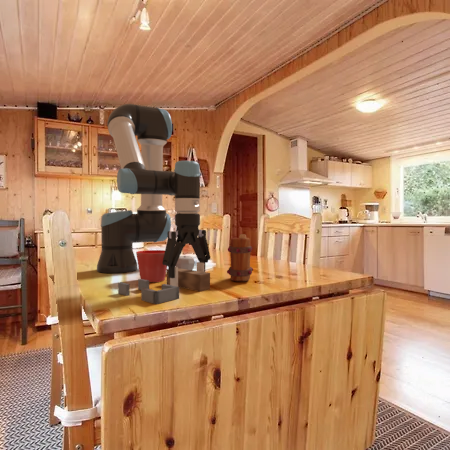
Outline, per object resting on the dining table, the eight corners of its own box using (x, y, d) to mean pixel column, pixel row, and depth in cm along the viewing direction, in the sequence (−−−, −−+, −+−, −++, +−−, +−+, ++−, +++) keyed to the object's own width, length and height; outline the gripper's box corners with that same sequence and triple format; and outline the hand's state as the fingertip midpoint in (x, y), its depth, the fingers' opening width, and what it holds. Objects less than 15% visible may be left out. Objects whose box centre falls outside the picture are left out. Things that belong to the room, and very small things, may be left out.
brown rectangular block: (166, 285, 105) (166, 269, 105) (176, 283, 108) (176, 267, 108) (200, 292, 96) (200, 274, 96) (210, 289, 99) (210, 273, 99)
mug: (250, 283, 106) (250, 236, 105) (225, 282, 107) (225, 236, 107) (255, 275, 120) (255, 233, 120) (233, 274, 122) (233, 233, 121)
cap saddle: (118, 293, 93) (118, 282, 93) (141, 288, 99) (141, 278, 99) (126, 295, 91) (126, 284, 91) (149, 290, 96) (149, 280, 96)
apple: (178, 275, 120) (178, 257, 120) (171, 272, 127) (170, 255, 126) (199, 273, 124) (198, 256, 124) (190, 270, 131) (190, 254, 130)
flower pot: (157, 276, 119) (157, 248, 119) (175, 280, 112) (175, 251, 111) (130, 280, 112) (130, 251, 112) (147, 285, 104) (147, 254, 104)
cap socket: (141, 300, 86) (141, 288, 86) (164, 294, 92) (164, 283, 92) (155, 304, 82) (155, 292, 82) (179, 298, 88) (179, 287, 88)
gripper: (165, 212, 90) (166, 294, 91) (221, 212, 107) (221, 281, 108) (148, 212, 95) (149, 290, 96) (205, 212, 112) (205, 278, 113)
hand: (187, 285), depth 102 cm, fingers open, 10 cm apart
